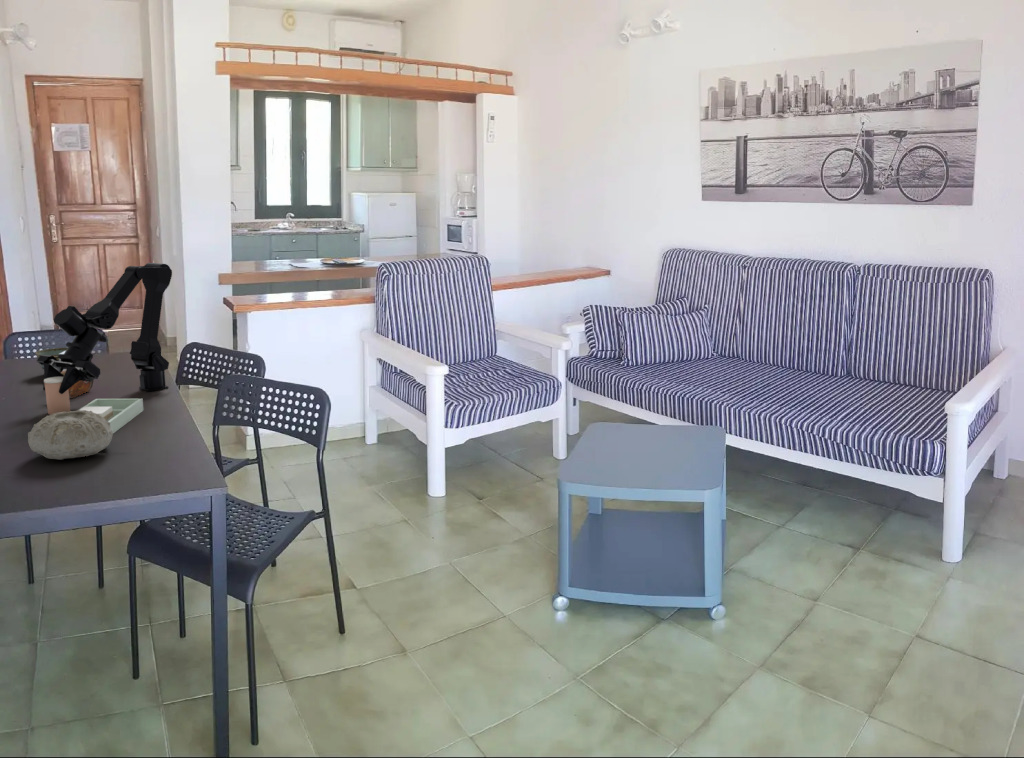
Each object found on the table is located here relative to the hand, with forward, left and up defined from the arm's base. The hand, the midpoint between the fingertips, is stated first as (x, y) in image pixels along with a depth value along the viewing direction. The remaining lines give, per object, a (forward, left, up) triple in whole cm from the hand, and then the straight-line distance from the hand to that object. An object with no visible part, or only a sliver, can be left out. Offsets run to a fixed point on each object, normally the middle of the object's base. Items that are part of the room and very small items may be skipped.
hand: (52, 392), depth 231 cm
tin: (-14, -18, -7) cm, 24 cm away
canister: (-1, 0, -7) cm, 7 cm away
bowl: (-25, -49, -7) cm, 56 cm away
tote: (-4, +19, -7) cm, 20 cm away
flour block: (0, +22, -6) cm, 23 cm away
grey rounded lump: (+14, +38, -7) cm, 41 cm away
